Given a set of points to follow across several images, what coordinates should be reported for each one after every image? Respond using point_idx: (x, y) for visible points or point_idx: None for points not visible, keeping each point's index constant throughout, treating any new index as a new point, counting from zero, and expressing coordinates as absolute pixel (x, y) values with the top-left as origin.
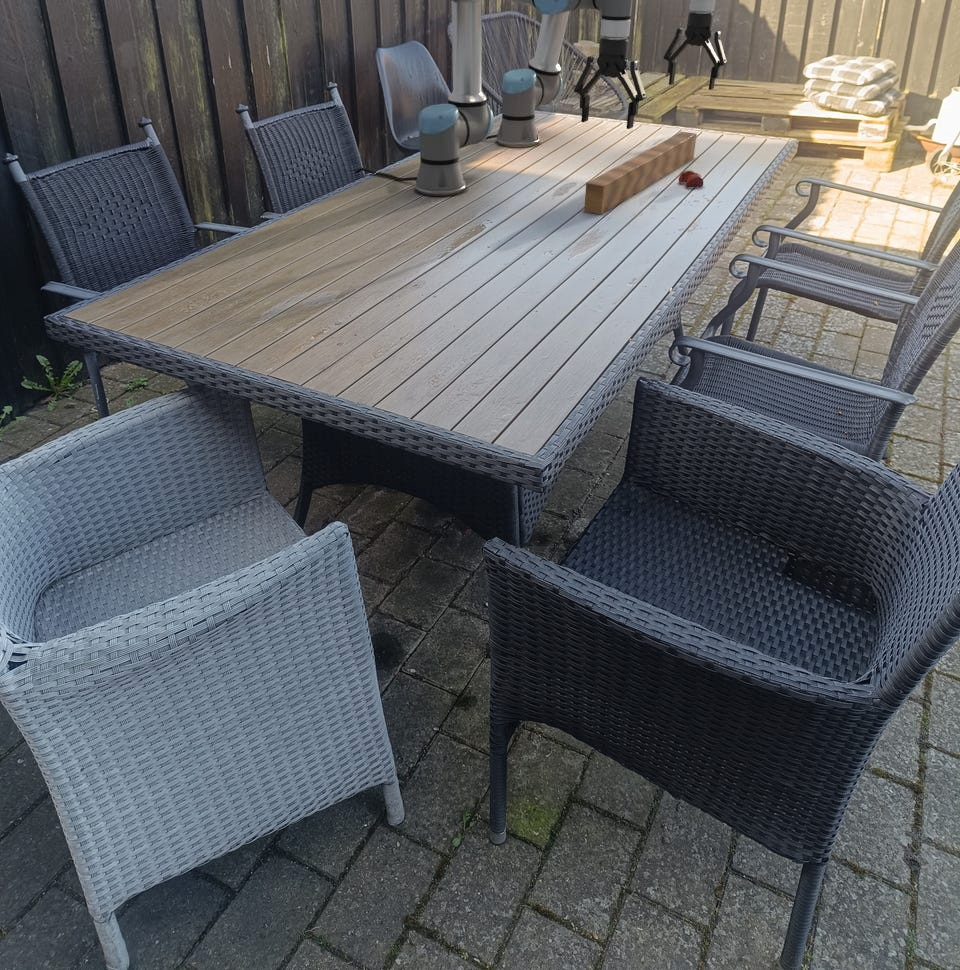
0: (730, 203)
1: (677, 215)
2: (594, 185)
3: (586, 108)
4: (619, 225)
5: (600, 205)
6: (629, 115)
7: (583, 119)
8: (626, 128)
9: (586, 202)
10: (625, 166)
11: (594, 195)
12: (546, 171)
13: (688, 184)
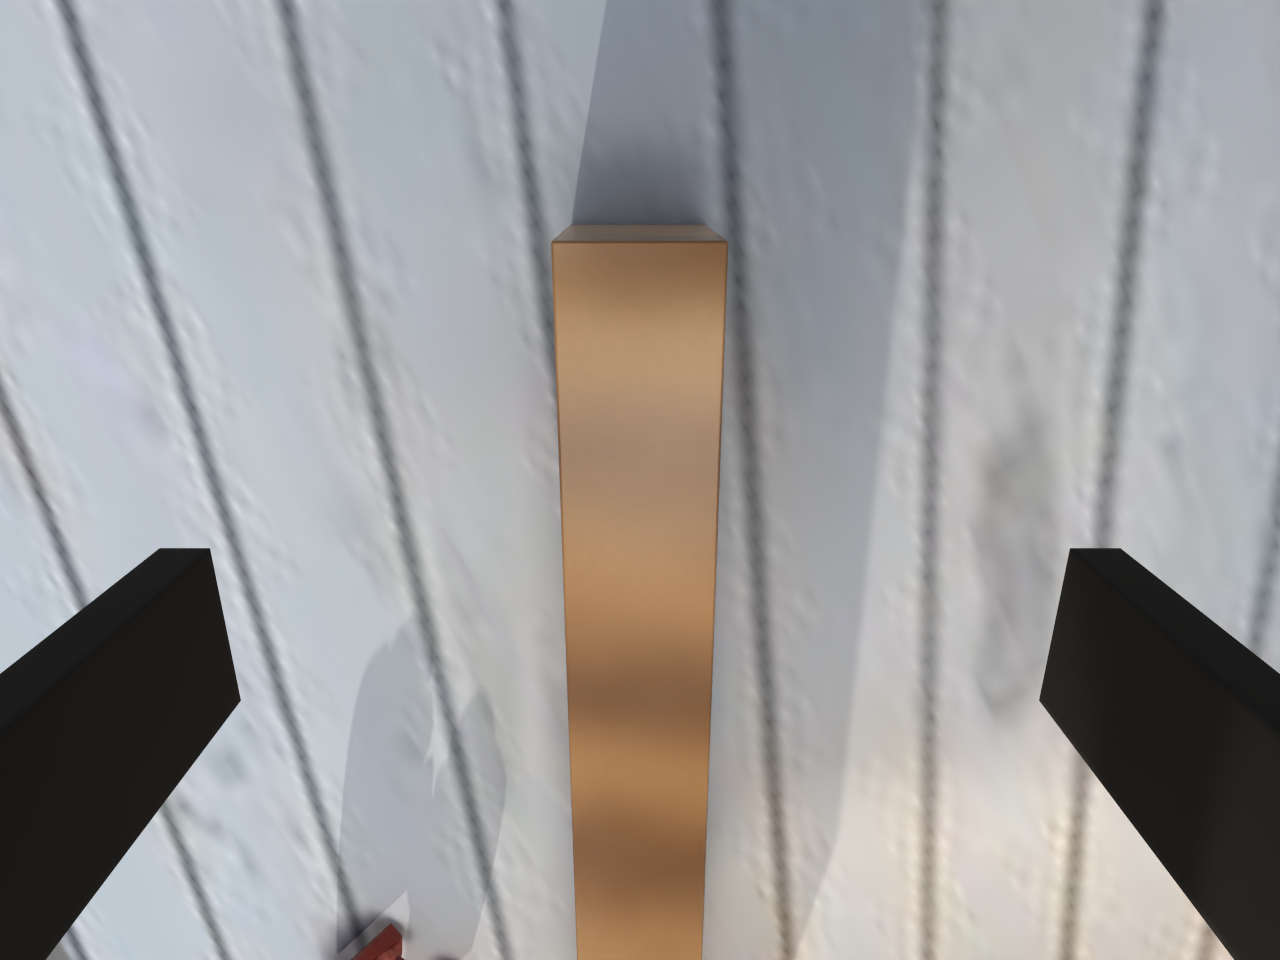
0: None
1: (161, 489)
2: (641, 240)
3: (1194, 759)
4: (344, 71)
5: (577, 229)
6: (11, 677)
7: (1104, 571)
8: (206, 549)
9: (697, 229)
10: (652, 801)
11: (634, 234)
12: None
13: (374, 940)
